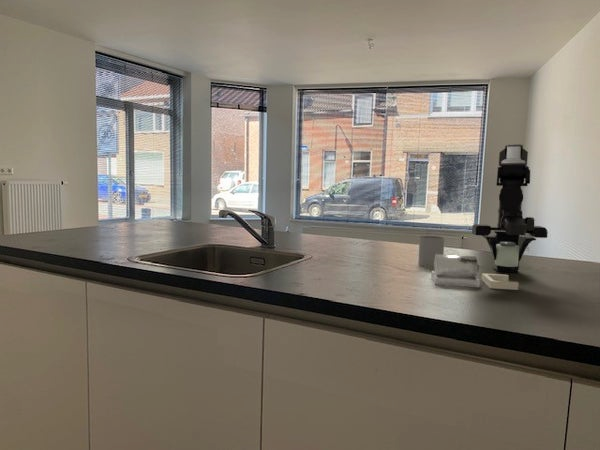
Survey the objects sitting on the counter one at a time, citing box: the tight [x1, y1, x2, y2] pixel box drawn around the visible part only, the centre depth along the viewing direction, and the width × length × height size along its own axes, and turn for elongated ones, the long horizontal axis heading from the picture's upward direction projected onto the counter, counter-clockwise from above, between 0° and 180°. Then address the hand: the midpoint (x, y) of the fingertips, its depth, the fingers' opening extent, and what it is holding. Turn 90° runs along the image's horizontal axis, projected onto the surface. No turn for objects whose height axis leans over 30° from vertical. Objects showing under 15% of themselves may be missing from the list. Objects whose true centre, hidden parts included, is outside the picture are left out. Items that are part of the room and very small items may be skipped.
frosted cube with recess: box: [494, 242, 519, 267], centre depth 120 cm, size 6×6×6 cm
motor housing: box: [431, 254, 481, 288], centre depth 123 cm, size 12×10×8 cm
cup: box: [418, 235, 445, 268], centre depth 149 cm, size 8×8×10 cm
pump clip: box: [481, 273, 519, 291], centre depth 121 cm, size 7×10×2 cm
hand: (506, 260), depth 120 cm, fingers closed on frosted cube with recess, 6 cm apart
